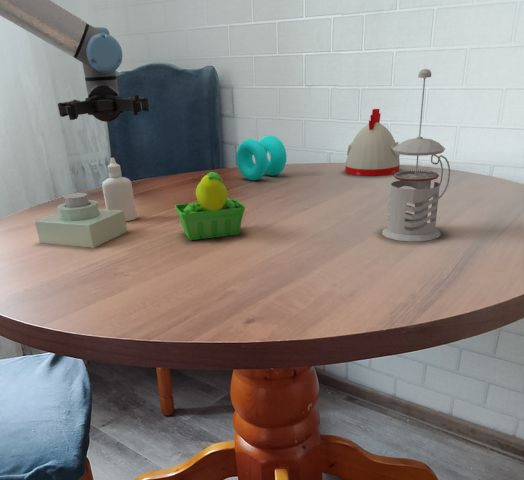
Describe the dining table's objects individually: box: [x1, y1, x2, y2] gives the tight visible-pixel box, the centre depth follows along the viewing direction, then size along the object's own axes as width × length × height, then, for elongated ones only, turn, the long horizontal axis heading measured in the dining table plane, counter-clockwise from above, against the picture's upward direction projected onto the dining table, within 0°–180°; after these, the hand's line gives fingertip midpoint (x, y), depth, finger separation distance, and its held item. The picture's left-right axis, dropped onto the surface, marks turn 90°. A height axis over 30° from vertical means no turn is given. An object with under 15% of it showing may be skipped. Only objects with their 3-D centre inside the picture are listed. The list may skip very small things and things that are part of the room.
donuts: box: [235, 134, 287, 181], centre depth 139 cm, size 10×10×10 cm
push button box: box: [34, 199, 128, 249], centre depth 98 cm, size 12×10×6 cm
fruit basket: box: [174, 171, 246, 241], centre depth 94 cm, size 11×9×11 cm
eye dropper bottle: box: [101, 157, 138, 222], centre depth 106 cm, size 4×6×12 cm
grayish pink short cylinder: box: [63, 192, 90, 208], centre depth 96 cm, size 4×4×2 cm
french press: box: [381, 68, 451, 242], centre depth 87 cm, size 10×12×25 cm
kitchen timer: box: [344, 108, 401, 177], centre depth 139 cm, size 14×14×15 cm
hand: (104, 109), depth 107 cm, fingers open, 11 cm apart
